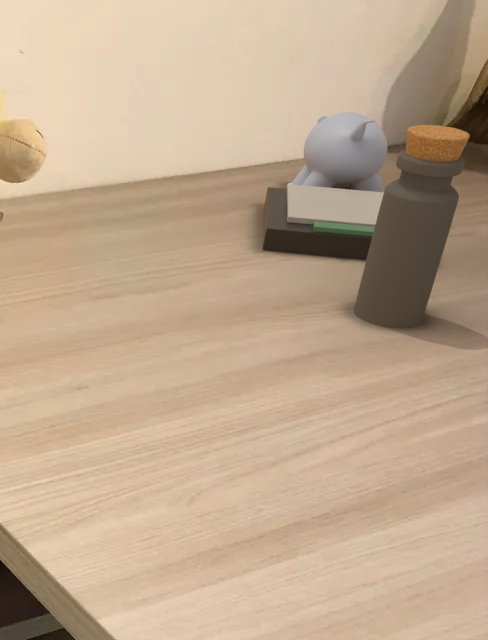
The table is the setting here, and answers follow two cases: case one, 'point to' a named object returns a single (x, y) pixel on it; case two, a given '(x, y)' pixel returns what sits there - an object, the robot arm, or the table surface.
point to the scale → (320, 221)
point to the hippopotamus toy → (344, 153)
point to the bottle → (412, 228)
